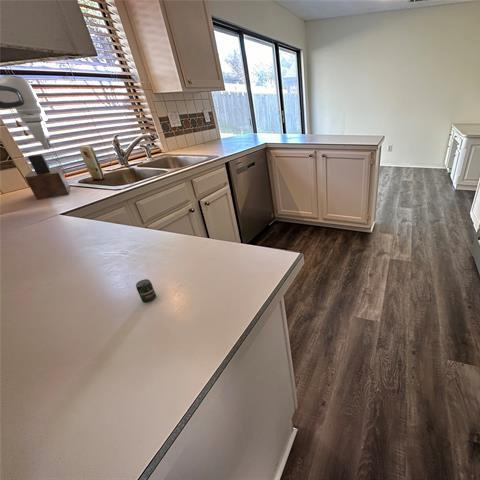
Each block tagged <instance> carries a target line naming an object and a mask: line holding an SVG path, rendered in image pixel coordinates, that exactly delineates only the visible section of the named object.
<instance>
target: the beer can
mask: <svg viewBox="0 0 480 480" xmlns="http://www.w3.org/2000/svg"><path fill="white" fill-rule="evenodd" d="M135 288H136V291H137V293H138V295H139V297H140V300H141V302H143V303H150V302H153V301H154V300H155V299H156V298H157V293H156V291H155V288H154V286H153V283H152V282H151V280H150V279H147V278H146V279H141V280H139V281H137V282H136V283H135ZM154 298H155V299H154ZM149 301H150V302H149Z"/></svg>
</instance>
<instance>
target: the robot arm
mask: <svg viewBox="0 0 480 480" xmlns="http://www.w3.org/2000/svg"><path fill="white" fill-rule="evenodd" d="M13 108H14V109H15V111H16V112H17V114H18V117H19V118H20V120H21V122H23V123H25V125H26V127H27V128H28V130H29V132H30V133H31V135H32V137H33V138H34V139H35V140H36V141H38V142H40V144H41V145H42V147H43V150H50V148H51V147H52V144H51V142H50V139H49V138H50V136H51V135H50V133H49V130H48V128H47V126H46V125H47V123H46V122H47V121H48V117H47V115H46V113H45V110H44V109H43V107H42V106H41V105H40V103H39V98H38V96H37V94H36V92H35V90H34V89H33V87H32V85H31V83H30V82H29V80H27V79H25V78H24V77H20V76H17V75H9V74H5V75H1V77H0V111H4V110H11V109H13Z"/></svg>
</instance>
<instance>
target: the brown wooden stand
mask: <svg viewBox="0 0 480 480" xmlns="http://www.w3.org/2000/svg"><path fill="white" fill-rule="evenodd" d="M50 170H51V171H50V172H46V173H38V174H36V172H35V170H32V171H28V173H26V175H25V176H24V179H25V181H26V183H27V184H28V186H29V188H30V189H31V191H32V194H33V195H34V197H35V199H36V200H44V199H50V197H51V198H56V197H63V196H69V195H70V192H71V185H70V184H69V182H68V180H67V178H66V175H65V173H64V172H63V169H62V167H56V168H50Z"/></svg>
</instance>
